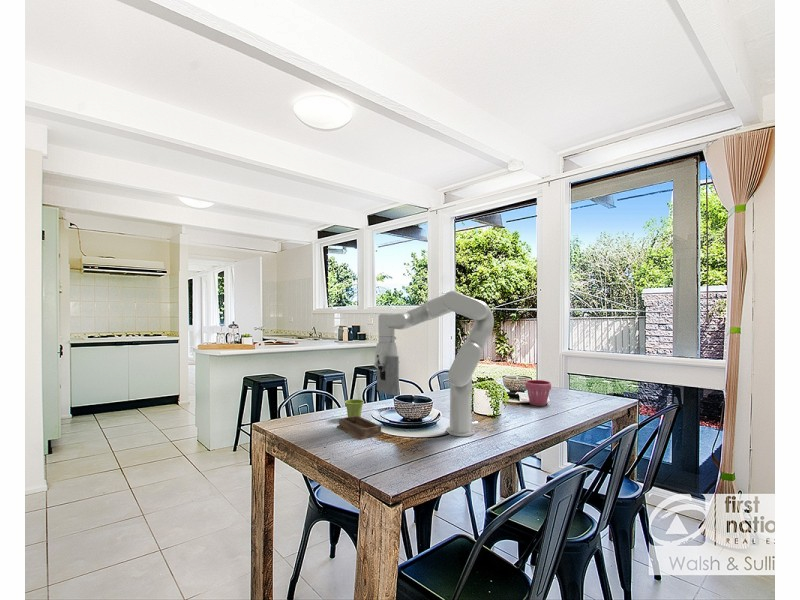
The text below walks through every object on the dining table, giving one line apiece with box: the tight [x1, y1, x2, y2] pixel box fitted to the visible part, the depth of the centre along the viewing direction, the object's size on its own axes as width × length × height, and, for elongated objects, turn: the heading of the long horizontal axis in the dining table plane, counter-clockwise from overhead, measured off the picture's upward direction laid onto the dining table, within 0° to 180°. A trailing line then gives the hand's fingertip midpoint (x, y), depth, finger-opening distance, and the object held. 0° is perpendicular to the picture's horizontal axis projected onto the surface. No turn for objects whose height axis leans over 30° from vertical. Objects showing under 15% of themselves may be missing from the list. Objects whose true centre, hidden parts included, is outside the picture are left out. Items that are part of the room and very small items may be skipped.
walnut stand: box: [336, 416, 384, 440], centre depth 190 cm, size 12×20×4 cm, turn 37°
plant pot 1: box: [344, 398, 365, 417], centre depth 209 cm, size 9×9×9 cm
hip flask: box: [376, 355, 400, 396], centre depth 198 cm, size 16×4×20 cm, turn 36°
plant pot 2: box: [524, 379, 552, 407], centre depth 245 cm, size 14×14×13 cm
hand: (386, 378), depth 199 cm, fingers closed on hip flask, 3 cm apart
